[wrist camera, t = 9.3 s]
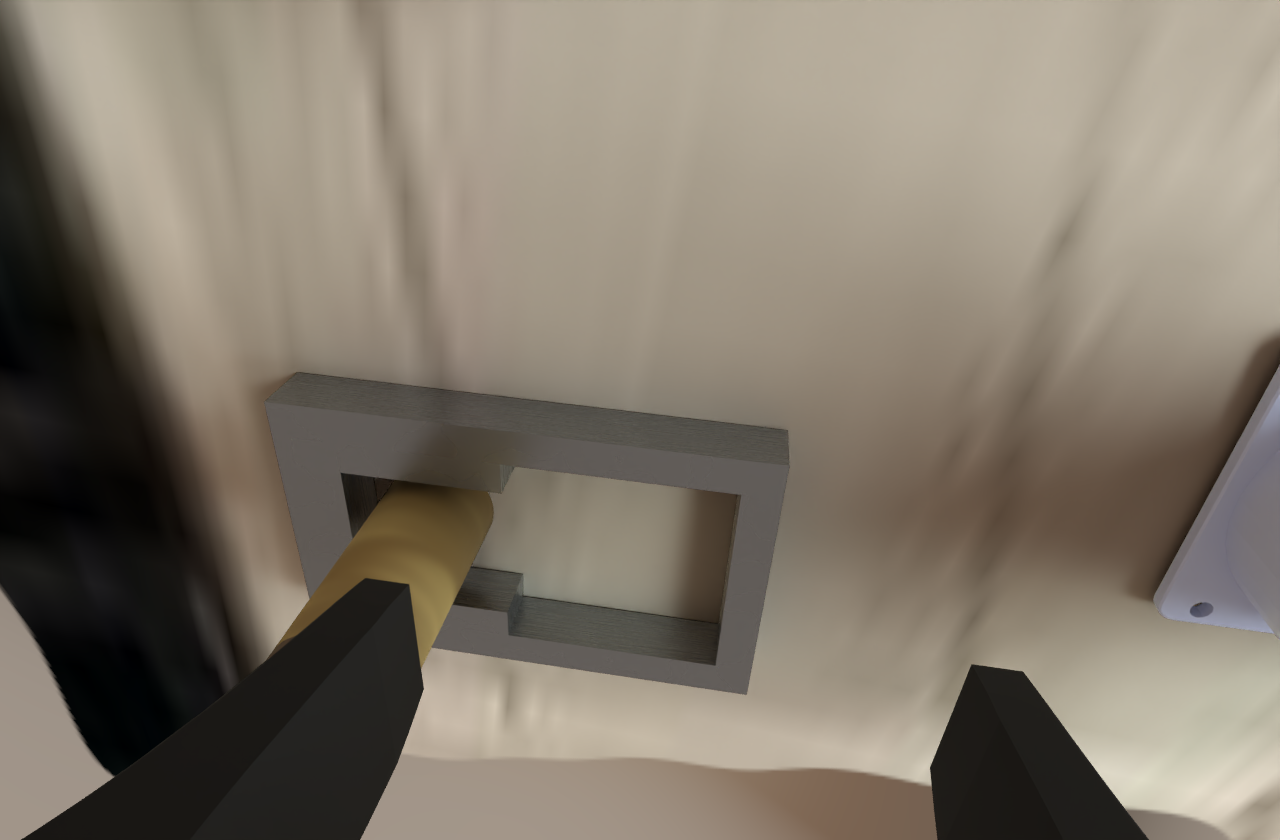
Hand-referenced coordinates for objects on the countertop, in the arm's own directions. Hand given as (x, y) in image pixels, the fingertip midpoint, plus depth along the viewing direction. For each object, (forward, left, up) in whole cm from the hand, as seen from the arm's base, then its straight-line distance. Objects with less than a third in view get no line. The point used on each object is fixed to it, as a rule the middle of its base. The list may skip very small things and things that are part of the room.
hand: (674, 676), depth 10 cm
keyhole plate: (+5, +6, -10) cm, 12 cm away
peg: (+7, +6, -10) cm, 14 cm away
